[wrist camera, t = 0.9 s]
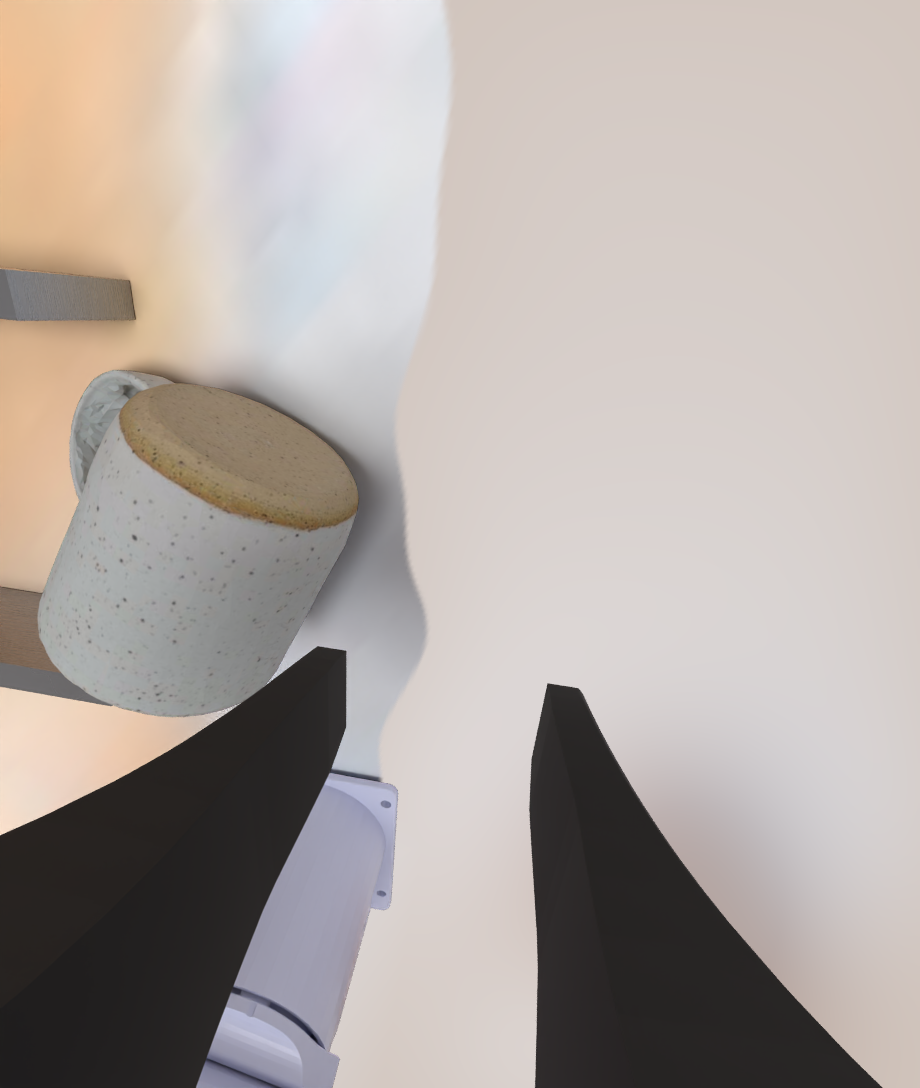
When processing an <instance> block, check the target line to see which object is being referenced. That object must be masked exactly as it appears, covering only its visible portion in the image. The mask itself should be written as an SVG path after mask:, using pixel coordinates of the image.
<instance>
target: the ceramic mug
mask: <svg viewBox="0 0 920 1088" xmlns="http://www.w3.org/2000/svg"><path fill="white" fill-rule="evenodd" d="M69 444H70V467H71V474H72V478H73V482H74V487H75V490H76V493H77V496H78V499H79V503H78V506H77V508H76V511H75V513H74V516H73V518H72V521H71V523H70V526H69V528H68V531H67V533H66V535H65V538H64V540H63V542H62V545H61V547H60V550H59V552H58V554H57V557H56V559H55V562H54V564H53V567H52V569H51V572H50V575H49V577H48V580H47V583H46V586H45V588H44V591H43V594H42V597H41V599H40V603H39V609H38V629H39V638H40V639H41V641H42V643H43V645H44V647H45V650H46V653H47V654H48V656H49V658H50V660H51V661H52V663H53V664H54V665H55V666H56V667H57V668H58V669H59V671H60V672H61V673H62V674H63V675H64V676H65V677H66V678H67V679H68V680H69V681H71V682H72V683H73V684H75V685H77V686H79V687H80V688H81V689H83V690H84V691H85V692H86V693H88V694H90V695H91V696H93V697H95V698H97V699H99V700H101V701H104V702H106V703H109V704H111V705H114V706H117V707H119V708H122V709H126V710H130V711H135V712H139V713H143V714H147V715H154V716H165V717H187V716H196V715H204V714H208V713H212V712H216V711H220V710H223V709H226V708H229V707H232V706H234V705H237V704H239V703H241V702H243V701H245V700H246V699H248V698H249V697H250V696H252V695H253V694H255V693H256V692H257V691H259V690H260V689H261V688H263V687H264V686H265V685H266V683H267V682H268V681H269V680H270V679H271V677H272V676H273V675H274V673H275V672H276V671H277V669H278V667H279V665H280V663H281V661H282V660H283V658H284V656H285V654H286V652H287V650H288V648H289V646H290V645H291V643H292V641H293V639H294V638H295V636H296V634H297V632H298V630H299V628H300V627H301V625H302V623H303V621H304V619H305V618H306V616H307V614H308V612H309V610H310V609H311V607H312V605H313V603H314V601H315V599H316V596H317V595H318V593H319V591H320V589H321V587H322V586H323V584H324V582H325V580H326V578H327V577H328V575H329V573H330V571H331V570H332V568H333V566H334V564H335V562H336V561H337V559H338V557H339V555H340V554H341V552H342V550H343V548H344V547H345V545H346V542H347V539H348V536H349V533H350V531H351V528H352V525H353V522H354V519H355V517H356V514H357V508H358V501H359V496H358V491H357V486H356V483H355V480H354V478H353V476H352V474H351V472H350V470H349V469H348V467H347V466H346V464H345V463H344V461H343V460H342V458H341V457H340V456H339V455H338V454H337V453H336V452H335V451H334V449H333V448H332V447H330V446H329V445H328V444H327V443H325V442H324V441H323V440H322V439H320V438H319V437H318V436H317V435H315V434H314V433H313V432H312V431H310V430H309V429H307V428H305V427H304V426H302V425H300V424H299V423H297V422H296V421H294V420H293V419H291V418H289V417H287V416H285V415H284V414H282V413H280V412H278V411H276V410H274V409H272V408H270V407H268V406H266V405H264V404H261V403H259V402H256V401H253V400H251V399H248V398H246V397H243V396H240V395H237V394H234V393H231V392H227V391H224V390H221V389H217V388H211V387H205V386H199V385H192V384H183V383H174V382H172V381H170V380H168V379H166V378H164V377H161V376H156V375H151V374H146V373H141V372H135V371H127V370H112V371H109V372H106V373H103V374H101V375H100V376H98V377H97V378H95V379H94V380H93V381H92V382H91V383H90V385H89V386H88V387H87V389H86V390H85V392H84V393H83V395H82V397H81V399H80V401H79V404H78V406H77V409H76V411H75V414H74V417H73V421H72V427H71V436H70V443H69Z"/></svg>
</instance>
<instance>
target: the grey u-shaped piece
mask: <svg viewBox="0 0 920 1088" xmlns="http://www.w3.org/2000/svg"><path fill="white" fill-rule="evenodd" d="M0 319H8V320H17V321H29V320H135V315H134V309H133V303H132V296H131V290H130V283H129V281H127V280H118V279H108V278H99V277H89V276H80V275H70V274H61V273H52V272H42V271H33V270H23V269H14V268H5V267H0ZM41 597H42V594H40V593H33V592H27V591H21V590H15V589H8V588H2V587H0V687H6V688H11V689H17V690H23V691H28V692H34V693H40V694H45V695H51V696H57V697H62V698H68V699H74V700H79V701H85V702H91V703H96V704H102V705H107V706H113V705H111V704H109V703H106V702H104V701H101V700H99V699H97V698H95V697H93V696H91V695H90V694H88V693H86V692H85V691H84V690H83V689H81V688H80V687H79V686H77V685H75V684H73V683H72V682H71V681H69V680H68V679H67V678H66V677H65V676H64V675H63V674H62V673H61V672H60V671H59V669H58V668H57V667H56V666H55V665H54V664H53V663H52V661H51V660H50V658H49V656H48V654H47V653H46V650H45V647H44V645H43V643H42V641H41V639H40V638H39V629H38V609H39V603H40V599H41Z"/></svg>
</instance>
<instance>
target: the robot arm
mask: <svg viewBox="0 0 920 1088" xmlns="http://www.w3.org/2000/svg"><path fill="white" fill-rule="evenodd" d="M345 728H346V651H344V650H337V649H331V648H325V647H319V646H318V647H316V648H315V649H313V650H312V651H311V652H309V653H308V654H307V655H305V656H304V657H302V658H301V659H300V660H299V661H297V662H296V663H295V664H293V665H292V666H291V667H289V668H288V669H287V670H285V671H284V672H283V673H281V674H280V675H279V676H277V677H276V678H275V679H273V680H272V681H271V682H270V683H268V684H267V685H266V686H264V687H263V688H261V689H260V690H259V691H257V692H256V693H255V694H253V695H252V696H250V697H249V698H248V699H246V700H245V701H243V702H242V703H241V704H239V705H238V706H237V707H235V708H234V709H232V710H231V711H229V712H228V713H227V714H225V715H224V716H222V717H221V718H219V719H218V720H216V721H215V722H213V723H212V724H210V725H209V726H207V727H205V728H204V729H202V730H201V731H199V732H198V733H196V734H195V735H193V736H192V737H190V738H189V739H187V740H186V741H184V742H183V743H181V744H179V745H178V746H176V747H174V748H173V749H171V750H169V751H168V752H166V753H164V754H163V755H161V756H159V757H157V758H156V759H154V760H152V761H150V762H148V763H147V764H145V765H143V766H141V767H140V768H138V769H136V770H134V771H132V772H131V773H129V774H127V775H125V776H123V777H121V778H120V779H118V780H116V781H114V782H112V783H110V784H108V785H106V786H104V787H102V788H100V789H98V790H96V791H94V792H92V793H90V794H88V795H86V796H84V797H82V798H79V799H77V800H75V801H73V802H71V803H69V804H67V805H65V806H63V807H61V808H59V809H57V810H55V811H53V812H51V813H49V814H47V815H45V816H43V817H40V818H38V819H36V820H34V821H32V822H29V823H27V824H25V825H23V826H20V827H18V828H16V829H14V830H11V831H9V832H7V833H5V834H2V835H0V1088H332V1087H333V1083H334V1080H335V1076H336V1072H337V1068H338V1064H339V1060H340V1059H339V1057H338V1056H336V1055H334V1054H332V1053H330V1052H329V1051H330V1047H331V1044H332V1041H333V1039H334V1037H335V1034H336V1032H337V1028H338V1025H339V1021H340V1018H341V1014H342V1011H343V1007H344V1003H345V1000H346V996H347V992H348V989H349V985H350V981H351V978H352V974H353V970H354V967H355V963H356V959H357V956H358V952H359V949H360V945H361V941H362V937H363V934H364V931H365V927H366V923H367V919H368V916H369V912H370V908H374V909H379V910H386V909H388V908H389V907H390V903H391V895H392V880H393V865H394V849H395V848H394V847H395V833H396V818H397V817H396V816H397V801H398V790H397V789H396V787H394V786H393V785H391V784H388V783H382V782H377V781H371V780H366V779H360V778H355V777H349V776H344V775H338V774H333V773H330V771H331V768H332V765H333V762H334V760H335V757H336V754H337V752H338V749H339V746H340V743H341V740H342V737H343V734H344V731H345ZM529 811H530V829H531V846H532V862H533V878H534V894H535V910H536V927H537V953H538V989H537V1039H536V1078H535V1088H882V1087H881V1086H880V1085H879V1084H878V1083H877V1082H876V1081H875V1080H874V1079H873V1078H872V1077H871V1076H870V1075H869V1074H868V1073H867V1072H866V1071H865V1070H864V1069H863V1068H862V1067H861V1066H860V1065H859V1064H858V1063H857V1062H856V1061H855V1060H854V1059H852V1057H850V1055H849V1054H848V1053H846V1051H845V1050H844V1049H843V1048H842V1047H841V1046H840V1045H839V1044H838V1043H837V1042H836V1041H835V1040H834V1039H833V1038H832V1037H831V1036H830V1035H829V1034H828V1032H827V1031H826V1030H825V1029H824V1028H823V1027H822V1026H821V1025H820V1024H819V1023H818V1022H817V1021H816V1020H815V1019H814V1018H813V1017H812V1016H811V1014H809V1013H808V1011H807V1010H806V1009H805V1008H804V1007H803V1006H802V1005H801V1004H800V1003H799V1002H798V1001H797V1000H796V999H795V998H794V996H793V995H792V994H791V993H790V992H789V991H788V990H787V989H786V988H785V987H784V986H783V985H782V983H781V982H780V981H779V980H778V979H777V977H776V976H775V975H774V974H773V973H772V972H771V971H770V969H769V968H768V967H767V966H766V965H765V964H764V963H763V961H762V960H761V959H760V958H759V957H758V956H757V955H756V953H755V952H754V951H753V950H752V949H751V947H750V946H749V945H748V944H747V943H746V942H745V941H744V940H743V938H742V937H741V936H740V935H739V934H738V933H737V931H736V930H735V929H734V928H733V927H732V926H731V924H730V923H729V922H728V921H727V920H726V918H725V917H724V916H723V915H722V913H721V912H720V911H719V910H718V908H717V907H716V906H715V905H714V903H713V902H712V901H711V899H710V898H709V897H708V896H707V895H706V893H705V892H704V891H703V889H702V888H701V887H700V886H699V884H698V883H697V882H696V880H695V879H694V877H693V876H692V875H691V873H690V872H689V871H688V869H687V868H686V867H685V866H684V864H683V863H682V861H681V860H680V859H679V857H678V856H677V855H676V853H675V852H674V850H673V849H672V847H671V846H670V845H669V843H668V842H667V840H666V839H665V837H664V836H663V834H662V833H661V832H660V830H659V828H658V827H657V825H656V824H655V822H654V821H653V819H652V818H651V816H650V815H649V813H648V812H647V810H646V809H645V807H644V806H643V804H642V802H641V801H640V799H639V798H638V796H637V794H636V793H635V791H634V789H633V788H632V786H631V785H630V783H629V781H628V779H627V778H626V776H625V774H624V773H623V771H622V769H621V767H620V766H619V764H618V762H617V761H616V759H615V757H614V755H613V753H612V751H611V750H610V748H609V746H608V744H607V742H606V740H605V738H604V737H603V735H602V733H601V731H600V729H599V727H598V725H597V723H596V721H595V719H594V717H593V715H592V713H591V711H590V709H589V706H588V704H587V702H586V700H585V698H584V696H583V694H582V692H581V691H580V690H579V689H578V688H573V687H567V686H560V685H554V684H547V689H546V693H545V699H544V703H543V708H542V712H541V717H540V722H539V727H538V731H537V736H536V741H535V746H534V750H533V756H532V764H531V784H530V809H529Z"/></svg>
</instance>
